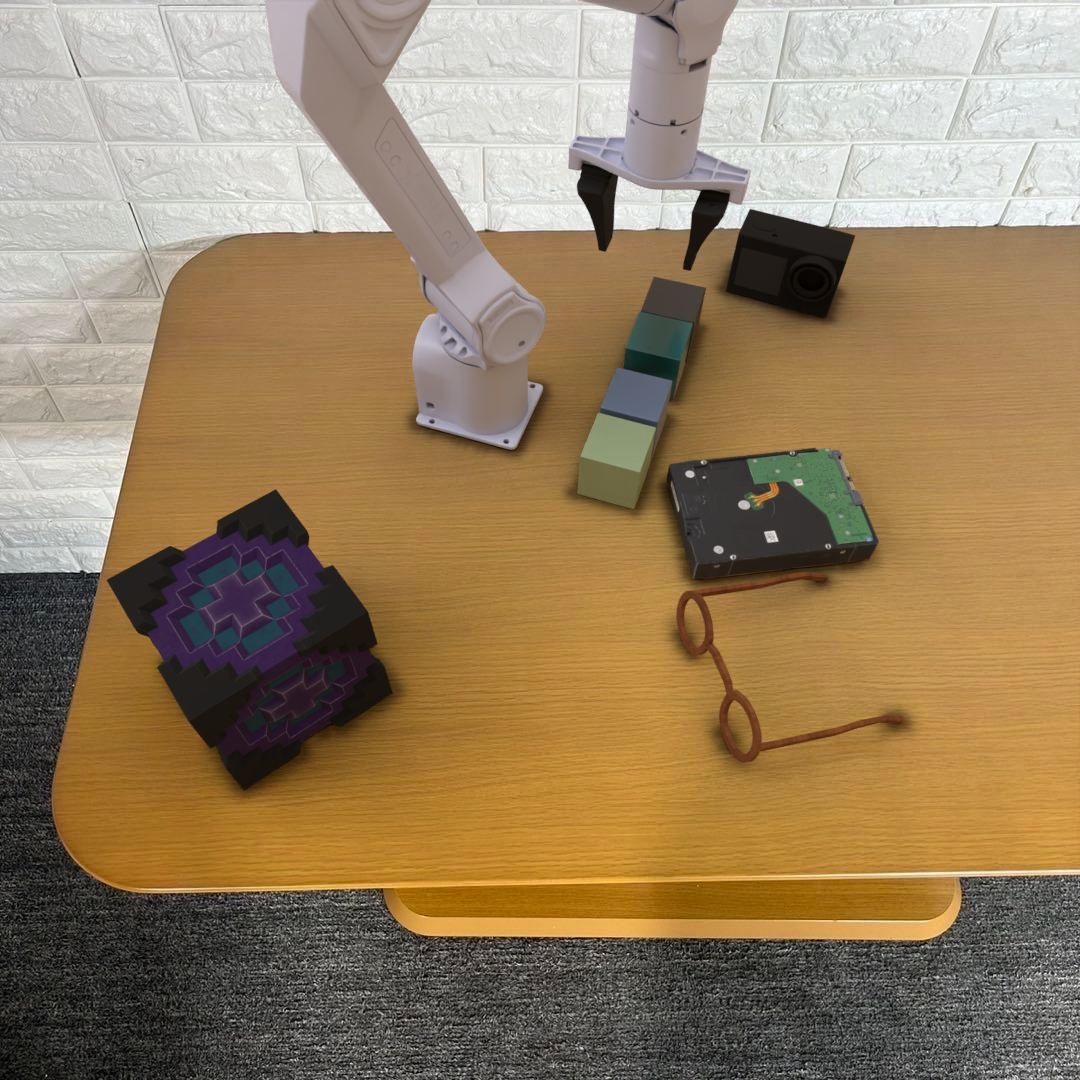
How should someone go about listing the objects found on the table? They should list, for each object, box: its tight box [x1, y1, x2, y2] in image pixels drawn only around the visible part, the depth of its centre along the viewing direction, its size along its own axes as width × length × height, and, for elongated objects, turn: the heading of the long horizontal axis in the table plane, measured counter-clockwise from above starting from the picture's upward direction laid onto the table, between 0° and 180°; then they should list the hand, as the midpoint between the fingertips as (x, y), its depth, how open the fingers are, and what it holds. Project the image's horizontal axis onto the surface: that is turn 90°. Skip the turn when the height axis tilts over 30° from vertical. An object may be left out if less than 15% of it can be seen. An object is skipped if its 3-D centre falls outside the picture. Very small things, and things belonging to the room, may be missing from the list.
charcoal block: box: [640, 276, 707, 364], centre depth 84 cm, size 5×5×5 cm
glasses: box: [676, 571, 906, 764], centre depth 65 cm, size 13×13×5 cm
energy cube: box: [106, 488, 394, 791], centre depth 61 cm, size 12×12×12 cm
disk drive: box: [665, 447, 880, 580], centre depth 73 cm, size 10×3×15 cm
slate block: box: [599, 366, 672, 461], centre depth 78 cm, size 5×5×5 cm
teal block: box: [622, 311, 693, 401], centre depth 82 cm, size 5×5×5 cm
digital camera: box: [725, 208, 856, 319], centre depth 87 cm, size 10×5×7 cm, turn 67°
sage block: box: [577, 412, 656, 510], centre depth 75 cm, size 5×5×5 cm
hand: (646, 253), depth 79 cm, fingers open, 7 cm apart
